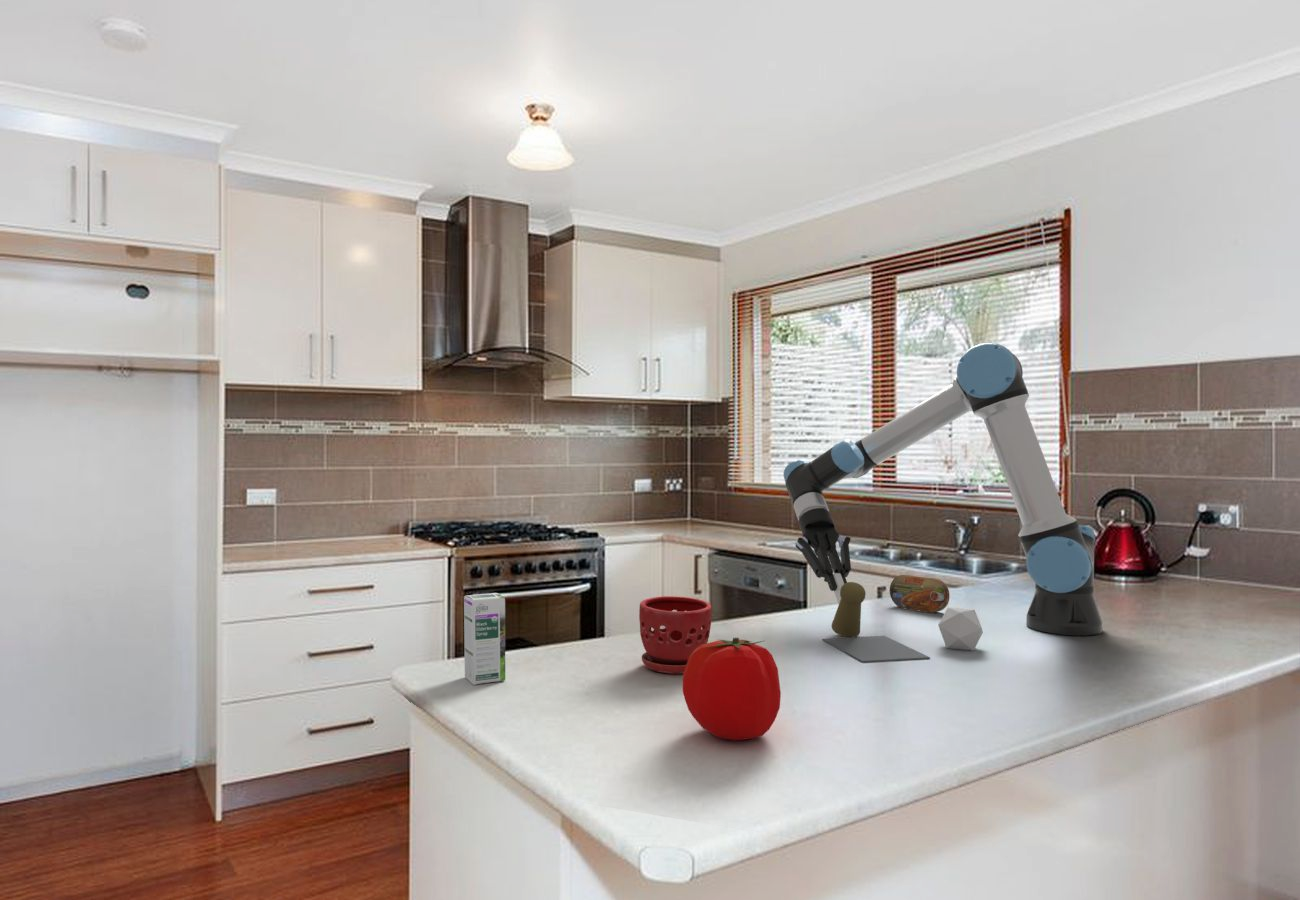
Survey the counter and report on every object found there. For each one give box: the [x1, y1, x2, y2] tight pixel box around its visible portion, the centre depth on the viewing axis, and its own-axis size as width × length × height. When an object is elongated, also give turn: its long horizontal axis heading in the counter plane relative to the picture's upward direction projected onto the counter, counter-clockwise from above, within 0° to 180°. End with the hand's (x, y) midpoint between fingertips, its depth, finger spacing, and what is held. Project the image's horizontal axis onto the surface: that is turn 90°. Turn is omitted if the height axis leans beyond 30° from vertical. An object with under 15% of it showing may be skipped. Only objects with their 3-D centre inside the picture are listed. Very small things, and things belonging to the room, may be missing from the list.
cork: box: [831, 581, 866, 638], centre depth 177 cm, size 6×6×11 cm
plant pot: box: [638, 595, 712, 675], centre depth 153 cm, size 13×13×12 cm
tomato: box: [682, 637, 782, 741], centre depth 119 cm, size 16×14×14 cm
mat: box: [822, 635, 931, 663], centre depth 168 cm, size 18×14×1 cm
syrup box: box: [463, 592, 506, 686], centre depth 145 cm, size 6×6×14 cm
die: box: [938, 606, 983, 652], centre depth 169 cm, size 8×9×10 cm
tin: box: [889, 574, 950, 614], centre depth 207 cm, size 15×3×8 cm, turn 43°
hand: (844, 601), depth 180 cm, fingers closed
